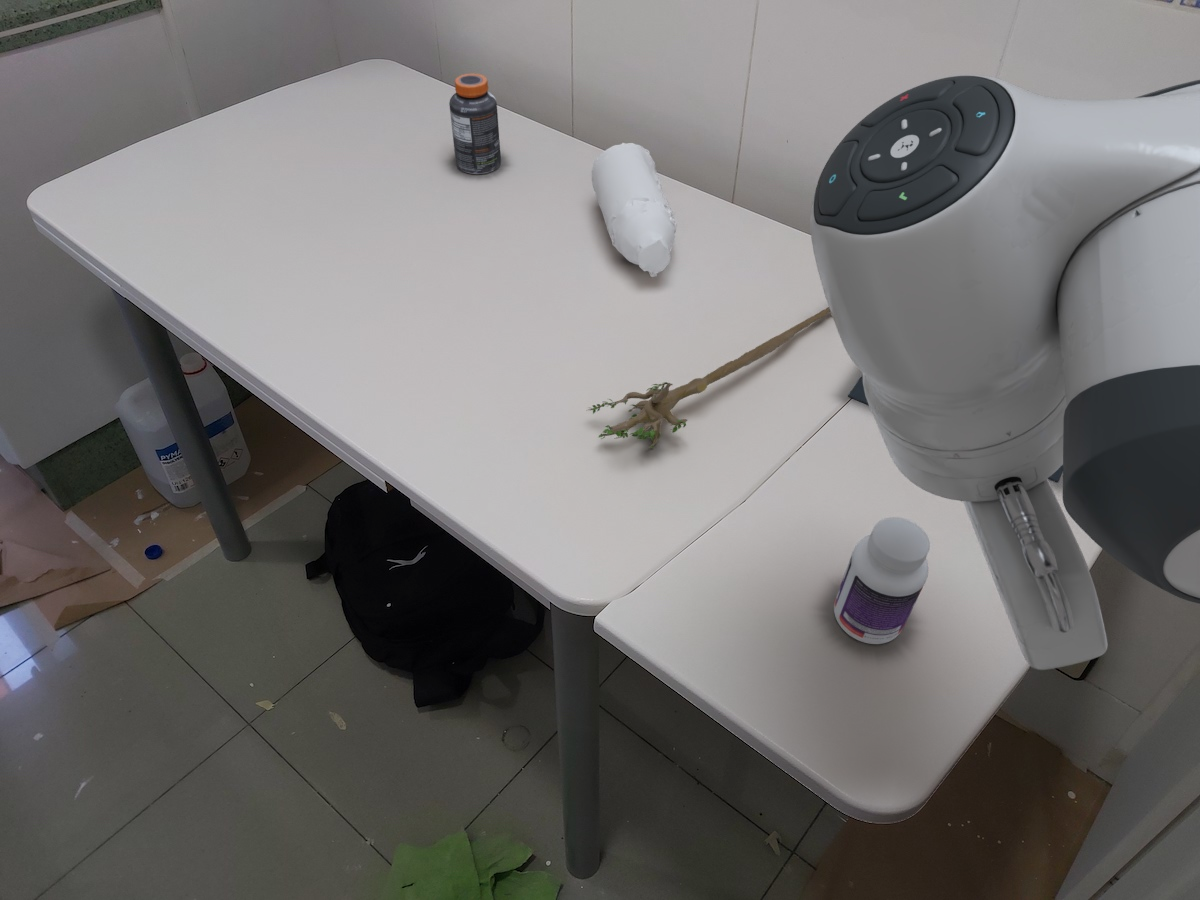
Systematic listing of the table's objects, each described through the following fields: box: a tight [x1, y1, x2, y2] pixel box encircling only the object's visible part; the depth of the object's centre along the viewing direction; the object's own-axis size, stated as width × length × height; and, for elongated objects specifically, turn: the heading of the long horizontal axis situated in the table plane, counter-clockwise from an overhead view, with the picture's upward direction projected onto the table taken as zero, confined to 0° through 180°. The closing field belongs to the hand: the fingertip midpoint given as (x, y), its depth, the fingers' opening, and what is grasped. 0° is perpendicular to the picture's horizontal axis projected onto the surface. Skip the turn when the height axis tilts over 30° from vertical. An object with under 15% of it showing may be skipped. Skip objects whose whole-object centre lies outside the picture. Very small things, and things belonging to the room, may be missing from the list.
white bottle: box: [591, 141, 678, 278], centre depth 101 cm, size 8×19×8 cm, turn 9°
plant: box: [585, 306, 831, 451], centre depth 85 cm, size 39×8×8 cm, turn 125°
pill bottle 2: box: [833, 516, 931, 645], centre depth 65 cm, size 5×5×10 cm
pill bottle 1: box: [448, 72, 502, 175], centre depth 112 cm, size 6×6×11 cm
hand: (1009, 535), depth 51 cm, fingers open, 8 cm apart
